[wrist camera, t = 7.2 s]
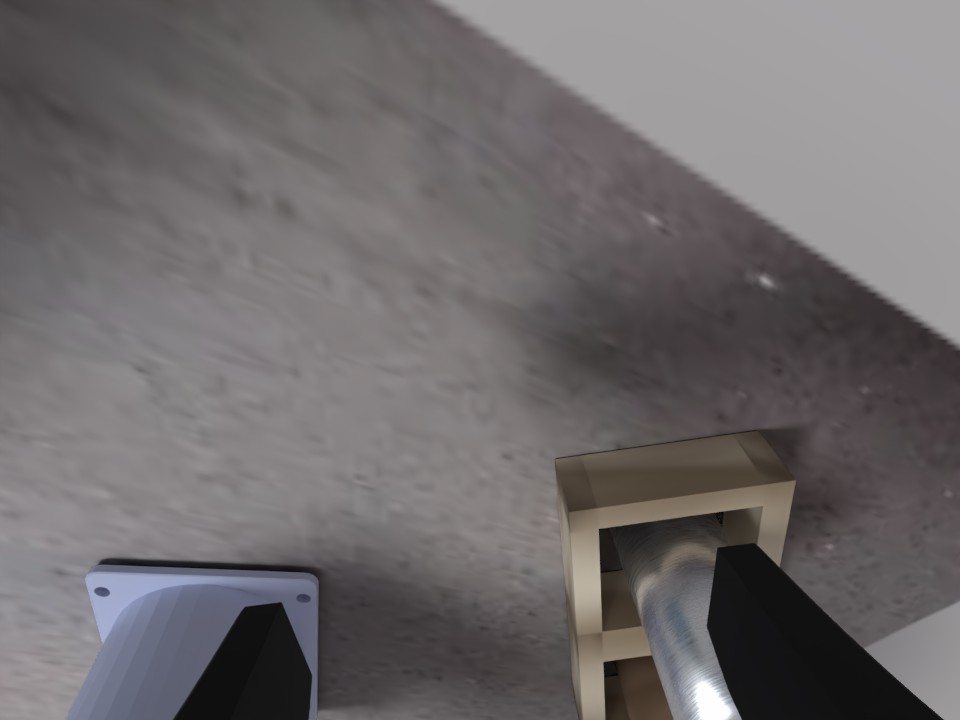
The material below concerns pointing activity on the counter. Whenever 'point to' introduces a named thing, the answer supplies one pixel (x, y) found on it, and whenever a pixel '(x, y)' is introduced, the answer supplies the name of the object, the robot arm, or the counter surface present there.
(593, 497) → the socket block
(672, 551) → the grey peg
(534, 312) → the counter surface
